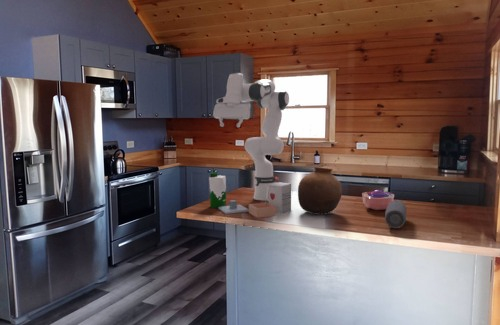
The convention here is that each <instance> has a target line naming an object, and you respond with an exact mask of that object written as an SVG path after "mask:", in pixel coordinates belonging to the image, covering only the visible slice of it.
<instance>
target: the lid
mask: <svg viewBox="0 0 500 325" xmlns="http://www.w3.org/2000/svg"><path fill="white" fill-rule="evenodd" d="M228 204H229V205H226V206H221V207H219V208H218V210H219V211H221V212H222V213H223V214H225V215H227V214H238V213H247V212H248V213H249V208H247V207H246V206H243V205H241V204H238V201H237V200H235V199H233V200H232V199H231V200H229V203H228Z"/></svg>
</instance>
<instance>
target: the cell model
mask: <svg viewBox="0 0 500 325" xmlns="http://www.w3.org/2000/svg"><path fill="white" fill-rule="evenodd" d="M361 196H362V202H363V204H364V205H365V207H367V208H369V209H372V210H373V211H384V210H386V209H387V206H388V204H389V203H390V202H391V201H393V200H394V198H395V194H394V193H392V192H388V191H385V190H384V189H382V190H381V189H376V190H373V191H365V192H362V193H361Z"/></svg>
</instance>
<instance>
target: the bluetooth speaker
mask: <svg viewBox="0 0 500 325" xmlns="http://www.w3.org/2000/svg"><path fill="white" fill-rule="evenodd" d="M384 213H385V215H384V218H385V222H386V224H387V225H388V226H389V227H390V228H393V229H398V228H402V227H403V226H404V224H406V220H407V214H408V213H407V207H406V205H405V203H404V202H403V201H401V200H399V199H395V200H394V199H393V201H391V202H390V203H389V204H388V206H387V209H385V212H384Z"/></svg>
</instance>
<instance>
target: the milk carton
mask: <svg viewBox="0 0 500 325" xmlns="http://www.w3.org/2000/svg"><path fill="white" fill-rule="evenodd" d="M209 174H210V176H209V177H208V181H209V182H208V183H209V201H210V203H209V204H210V208H211V209H219V207H221V206H227V181H226V180H227V178H226V177H227V176H226V175H218V172H210V173H209Z"/></svg>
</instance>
